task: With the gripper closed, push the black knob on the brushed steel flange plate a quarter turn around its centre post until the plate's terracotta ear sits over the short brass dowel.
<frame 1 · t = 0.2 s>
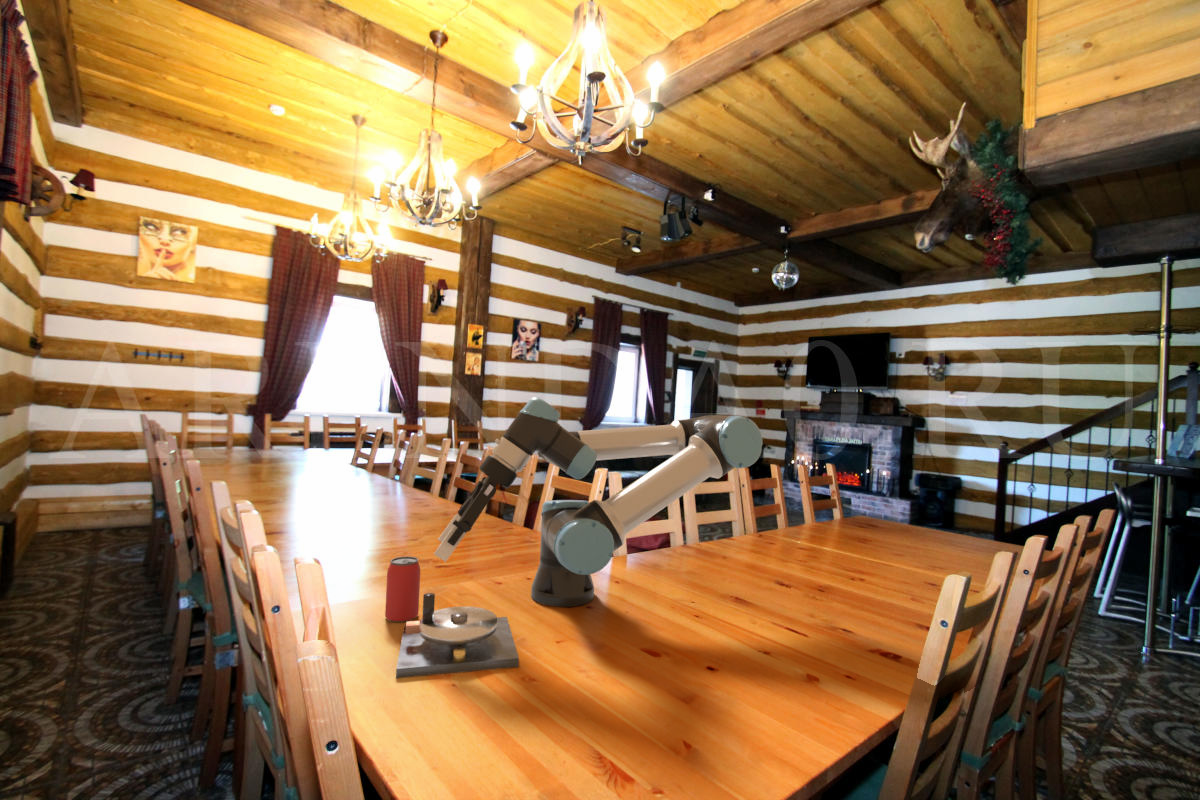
hand: (441, 549, 110), 16 cm above the table, tool tilted 35°, fingers open, 13 cm apart
base plate: (457, 647, 100), on the table
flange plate: (453, 611, 100), point 7 cm above the table, hinge at 0.0°
beer can: (401, 618, 114), on the table
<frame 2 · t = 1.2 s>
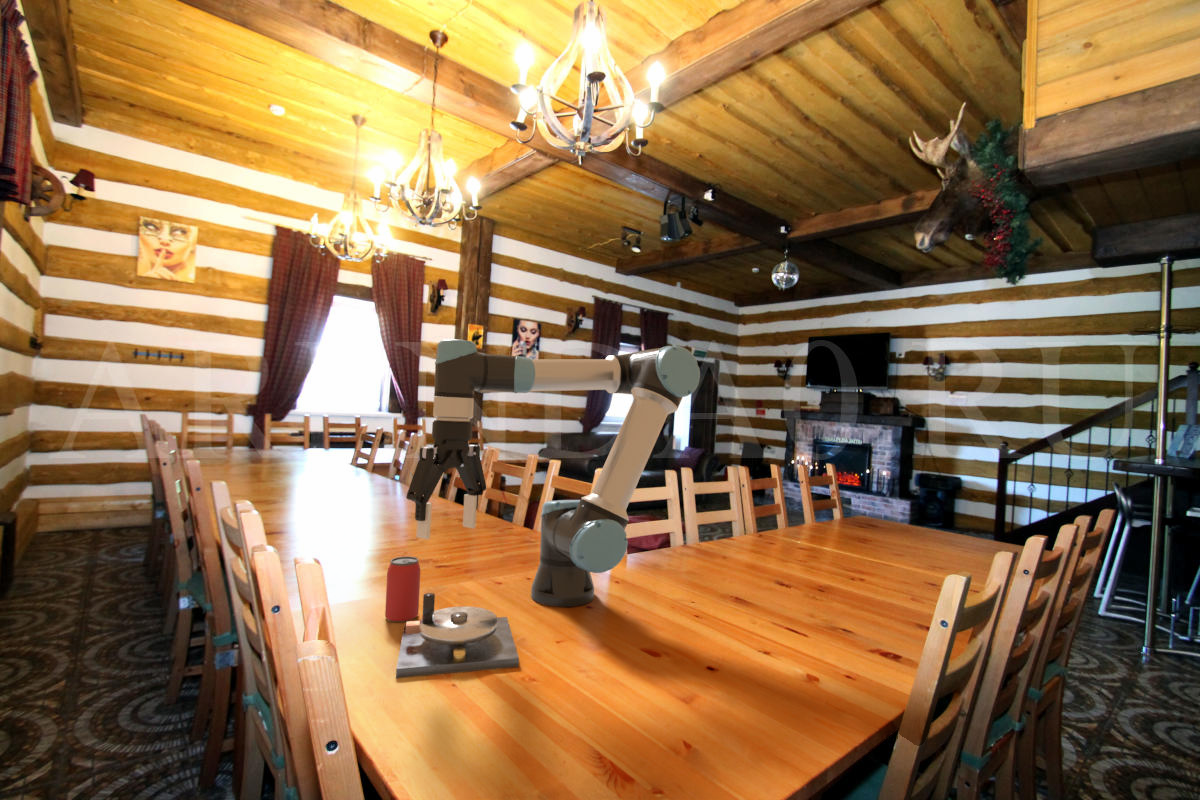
hand: (447, 532, 105), 20 cm above the table, tool pointing down, fingers open, 11 cm apart
nothing on the table moved.
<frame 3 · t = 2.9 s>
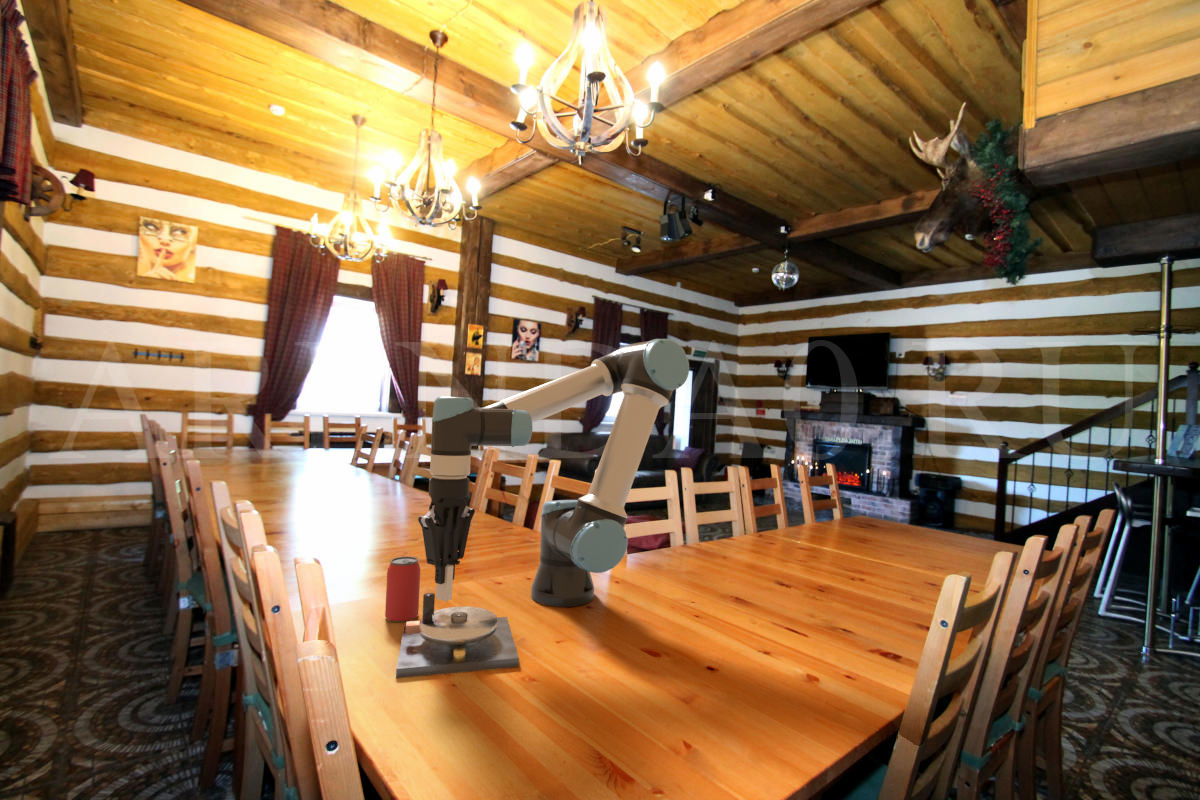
hand: (443, 598, 104), 8 cm above the table, tool pointing down, fingers closed
nothing on the table moved.
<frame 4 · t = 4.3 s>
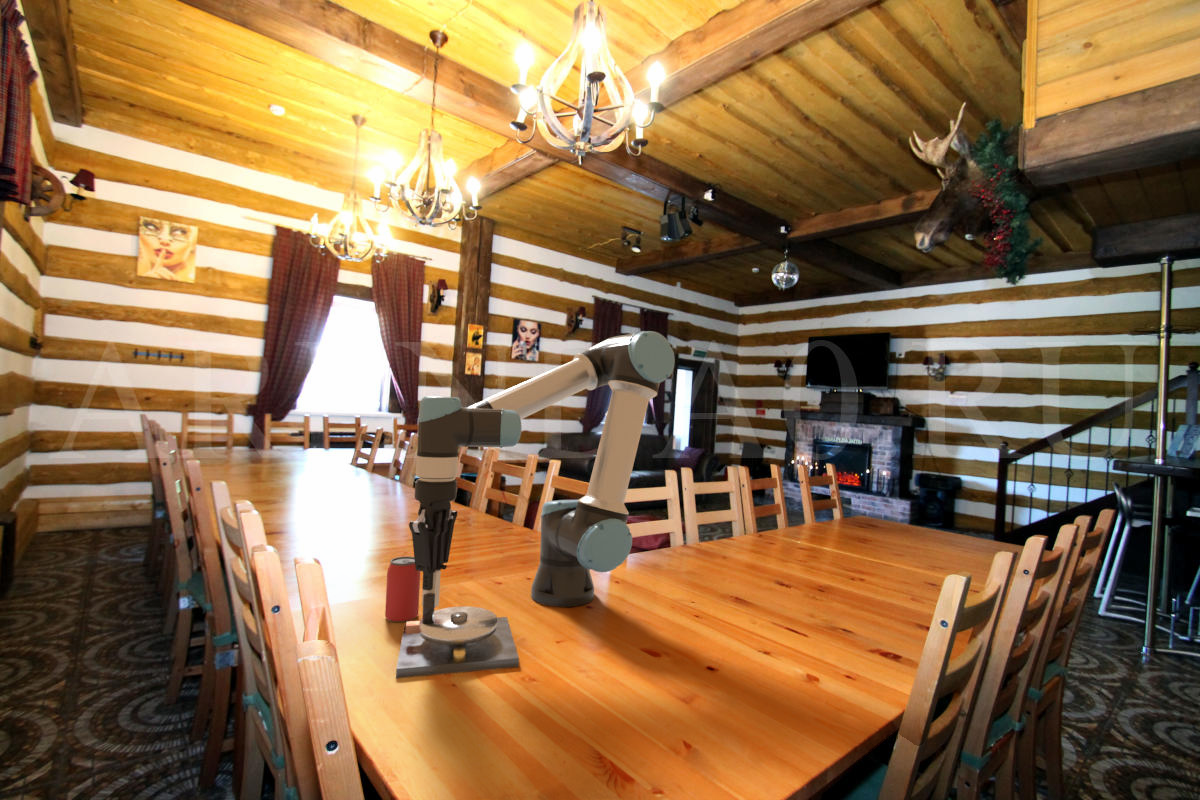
hand: (430, 605, 101), 8 cm above the table, tool pointing down, fingers closed
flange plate: (453, 611, 100), point 7 cm above the table, hinge at 0.0°, touching gripper
everything else where it was.
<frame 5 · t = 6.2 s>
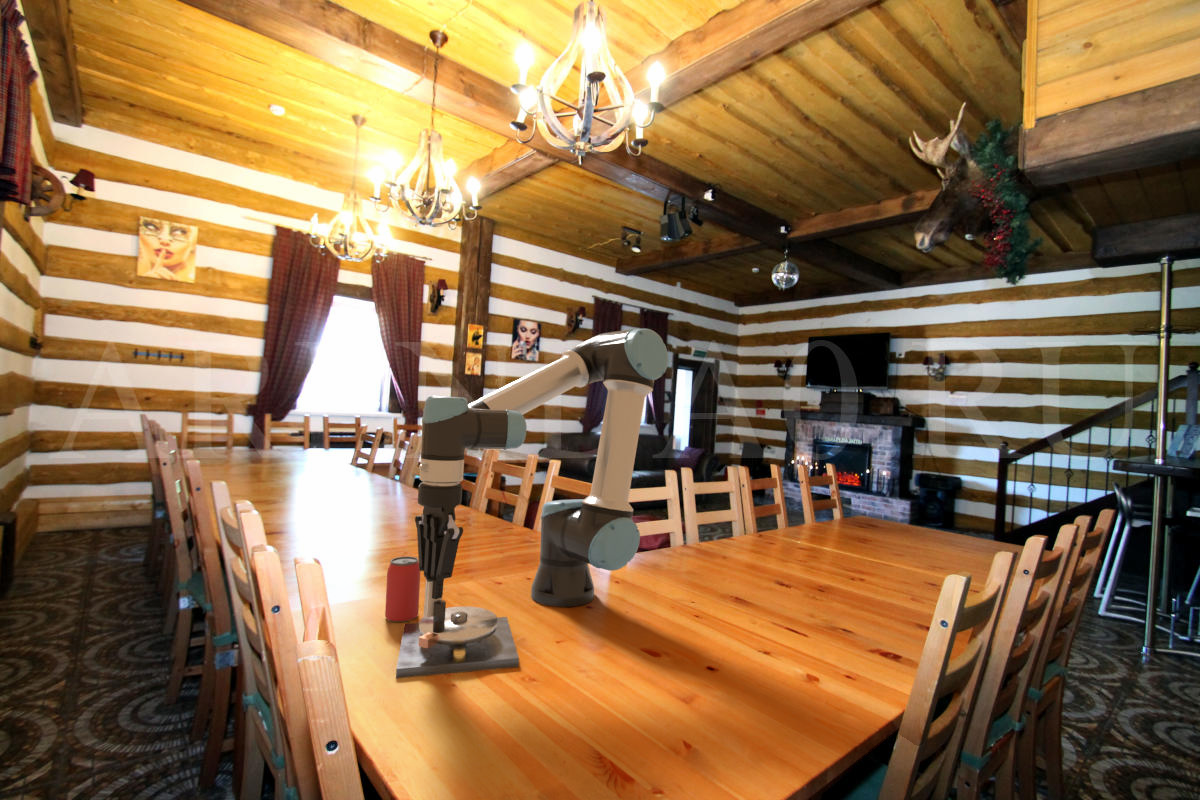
hand: (432, 614, 96), 8 cm above the table, tool pointing down, fingers closed
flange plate: (455, 612, 99), point 7 cm above the table, hinge at 49.5°, touching gripper
everything else where it was.
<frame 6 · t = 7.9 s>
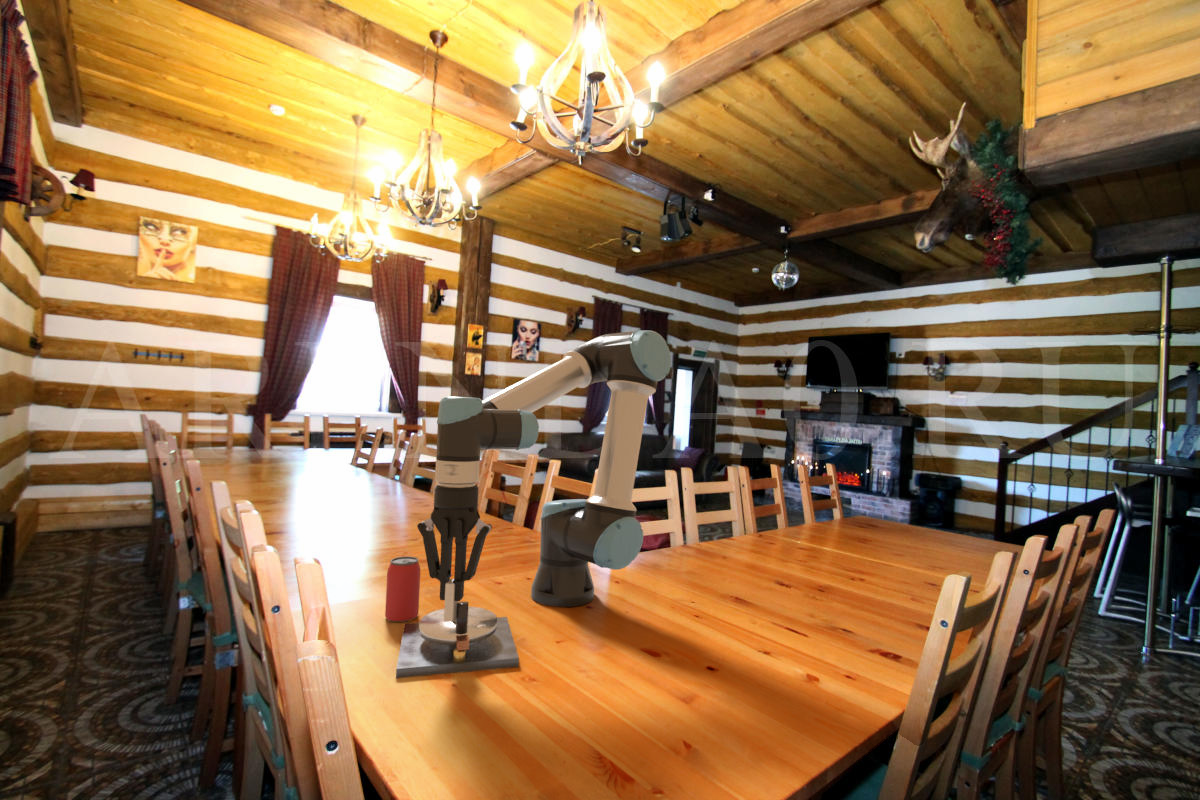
hand: (450, 618, 95), 8 cm above the table, tool pointing down, fingers closed
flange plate: (459, 612, 99), point 7 cm above the table, hinge at 92.9°
everything else where it was.
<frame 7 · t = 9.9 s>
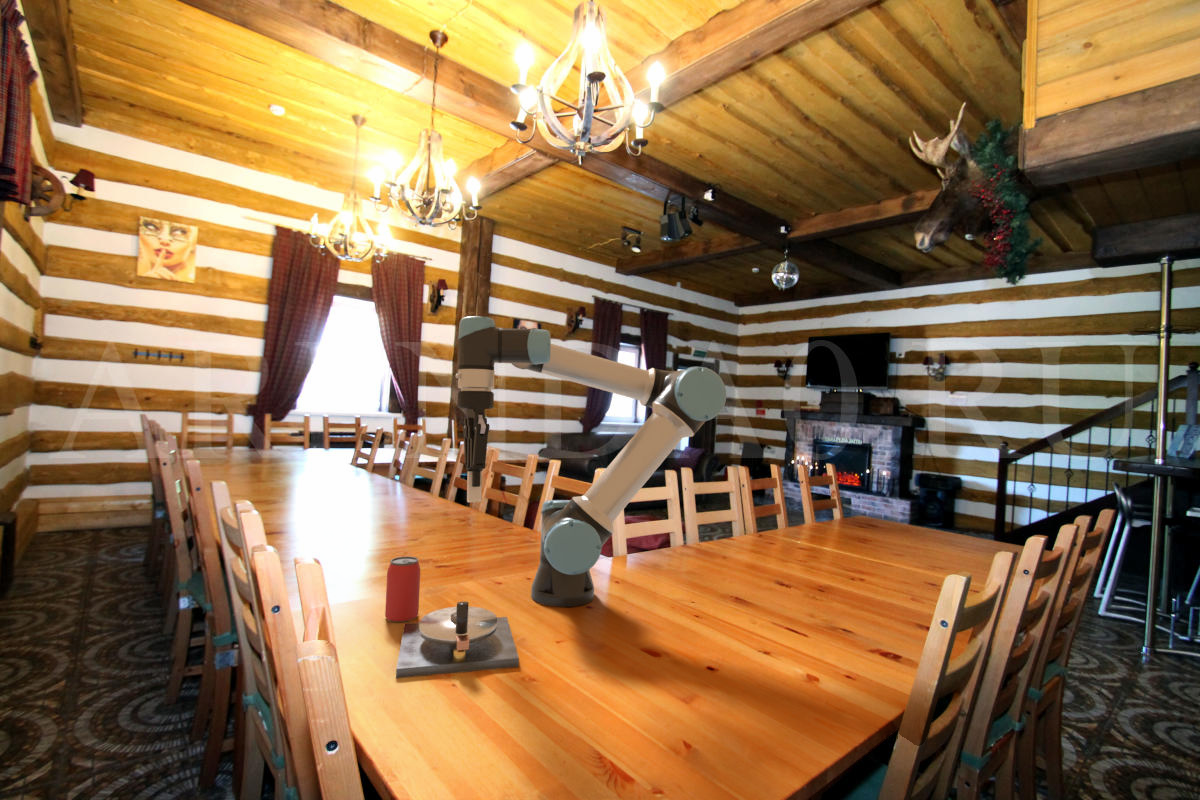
hand: (474, 501, 114), 25 cm above the table, tool pointing down, fingers closed
nothing on the table moved.
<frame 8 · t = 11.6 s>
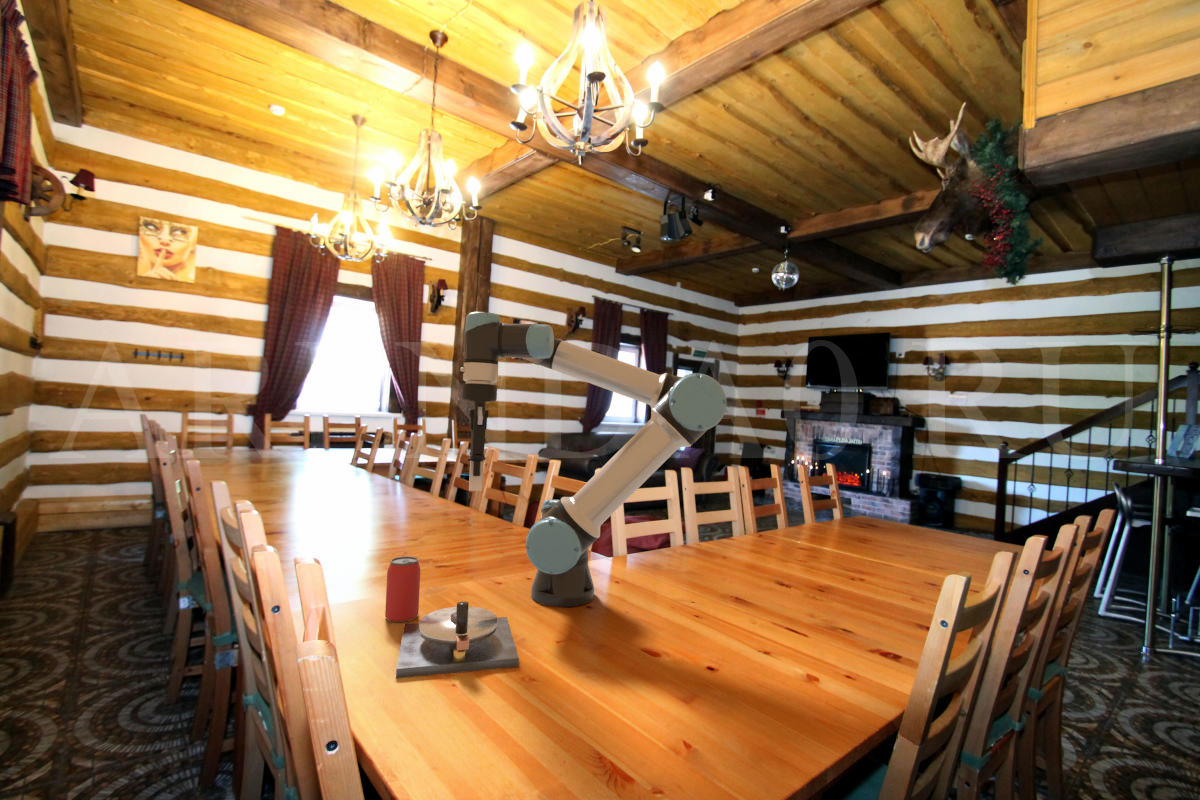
hand: (475, 490, 119), 26 cm above the table, tool pointing down, fingers closed
nothing on the table moved.
at the end: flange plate at +93° (first picture: +0°); beer can moved 0.2 cm from its start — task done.
